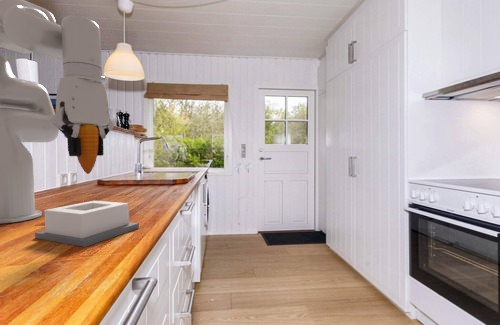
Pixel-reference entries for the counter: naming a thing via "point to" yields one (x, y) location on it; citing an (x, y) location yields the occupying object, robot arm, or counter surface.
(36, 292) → the counter surface
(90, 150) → the carrot
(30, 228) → the counter surface
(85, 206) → the socket stand
